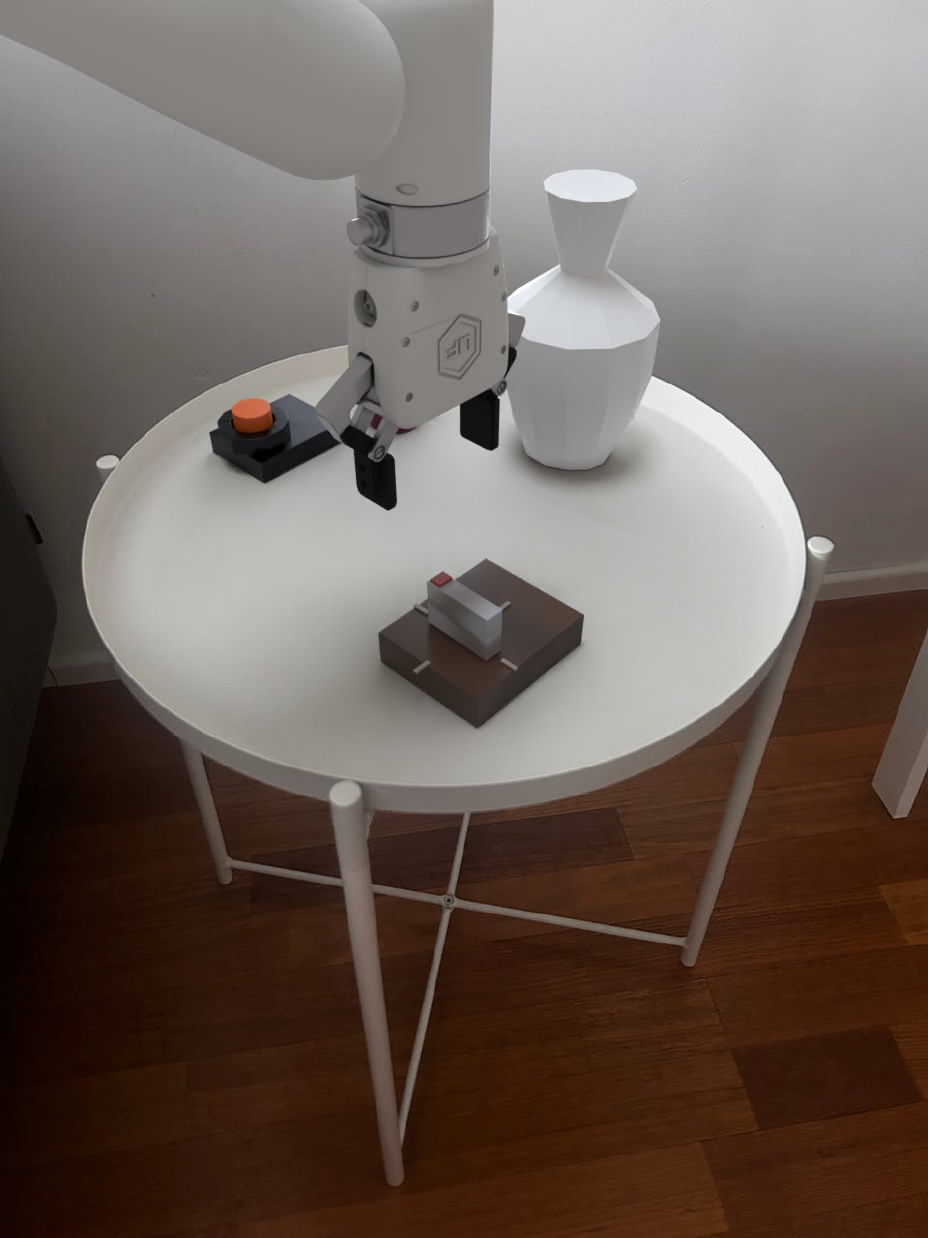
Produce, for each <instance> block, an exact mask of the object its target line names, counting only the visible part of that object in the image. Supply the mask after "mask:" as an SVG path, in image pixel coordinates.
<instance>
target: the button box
mask: <svg viewBox="0 0 928 1238" xmlns="http://www.w3.org/2000/svg"><path fill="white" fill-rule="evenodd" d="M268 403H269V404H270V406H271V413H272V420H273V424H272V426H271V427H270V428H268V429H266V430H264V431H259V432H253V433H246V432H239V431H237V430H236V429H235V427H234V422H233V416H232V408H231V409H230V408H229V409H228V410H226V411H224V412H223V413H222V414H221V416H220V417H219V418H218V420H216V421H217V422H216V424H217V428H215V429H213V430H211V431H209V432H208V434H209V439H210V444H211V450H212V452H213V453H215V454H216V455H218V456H219V457H221V458H223V459H225V460H226V461H228V462H230V463H231V464H233V465H234V466H236V467H237V468H239V469H241V470H242V471H244V472H245V473H247V474H250V475H251V476H252V477H254V478H255V479H257V480H259V481H260V482H262V483H263V484H266V483H267V482H269V481H272V480H273V479H276V478H277V477H279V476H281V475H283V474H284V473H287V472H288V471H290V470H293V469H294V468H295V467H298V466H299V465H302V464H303V463H305V462H307V461H309V460H311V459H313V458H314V457H317V456H318V455H320V454H322V453H324V452H326V451H328V450H329V449H331V448H334V447H336V446H337V445H339V444H342V443H341V442H339V441H338V440H336V439H334V438H332V437H331V436H330V435H329V431H328V430H327V429H326V428H325V426H324V425H323V424H322V422H321V421H320V419H319V418H318V417H317V415H316V413H315V407H316V406H313V405H311V404H309V403H308V402H306V401H304V400H302V399H300V398H298V397H296V396H295V395H293V394H291V393H288V394H286V395H283V396H281V397H280V398H278V399H276V400H273V401H271V402H268Z"/></svg>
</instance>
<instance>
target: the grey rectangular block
mask: <svg viewBox="0 0 928 1238" xmlns="http://www.w3.org/2000/svg"><path fill="white" fill-rule="evenodd" d="M426 587H427V588H426V590H427V592H426V593H427V599H428V622H429V623H430V624H432V625H433V626H435V627H436V628H438V629H439V630H441V631H442V632H444V633H445V634H447V635H448V636H450V637H451V638H453V639H454V640H456V641H457V642H459V643H460V644H462V645H463V646H464V647H466V648H467V649H469V650H470V651H472V652H473V653H475V654H476V655H478V656H479V657H481V658H482V659H484V660H485V661H487V660H489V659H490V658H491V657H493V656H494V655H495V654H497V653H498V652H499V651H501V634H502V609H500V608H499V607H497V606H496V605H494V604H492V603H491V602H489V601H488V600H486V599H485V598H483V597H481V596H480V595H478V594H477V593H475V592H473V591H472V590H470V589H469V588H467V587H466V586H464V585H462V584H461V583H459V582H458V581H456V580H455V578H453V576H451V575H450V574H448V573H447V572H445V571H443V570H442V571H441V572H439V573H438V574H436V575H435V576H433V577H431V578H430V579H429V580H427V582H426Z"/></svg>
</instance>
